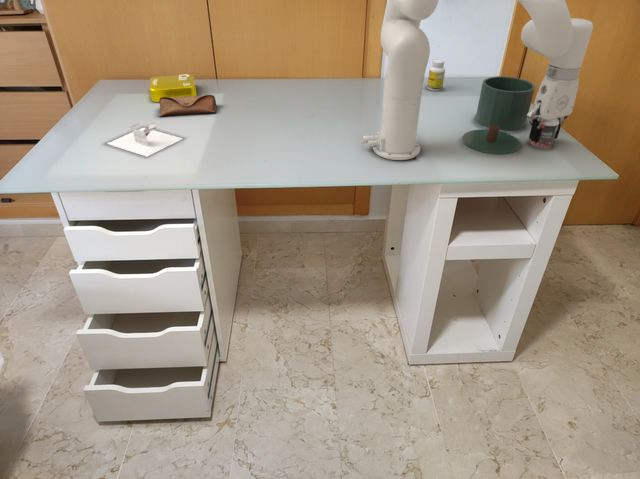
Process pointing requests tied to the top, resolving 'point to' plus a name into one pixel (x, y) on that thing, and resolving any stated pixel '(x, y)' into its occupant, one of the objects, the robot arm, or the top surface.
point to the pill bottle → (547, 133)
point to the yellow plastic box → (172, 86)
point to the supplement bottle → (436, 75)
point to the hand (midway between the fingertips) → (542, 138)
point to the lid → (491, 141)
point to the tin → (504, 102)
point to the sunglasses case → (187, 105)
